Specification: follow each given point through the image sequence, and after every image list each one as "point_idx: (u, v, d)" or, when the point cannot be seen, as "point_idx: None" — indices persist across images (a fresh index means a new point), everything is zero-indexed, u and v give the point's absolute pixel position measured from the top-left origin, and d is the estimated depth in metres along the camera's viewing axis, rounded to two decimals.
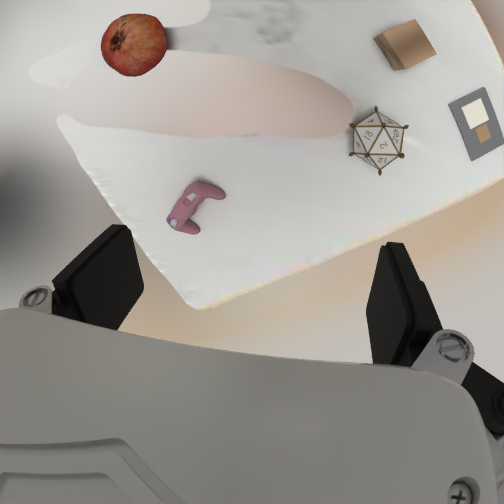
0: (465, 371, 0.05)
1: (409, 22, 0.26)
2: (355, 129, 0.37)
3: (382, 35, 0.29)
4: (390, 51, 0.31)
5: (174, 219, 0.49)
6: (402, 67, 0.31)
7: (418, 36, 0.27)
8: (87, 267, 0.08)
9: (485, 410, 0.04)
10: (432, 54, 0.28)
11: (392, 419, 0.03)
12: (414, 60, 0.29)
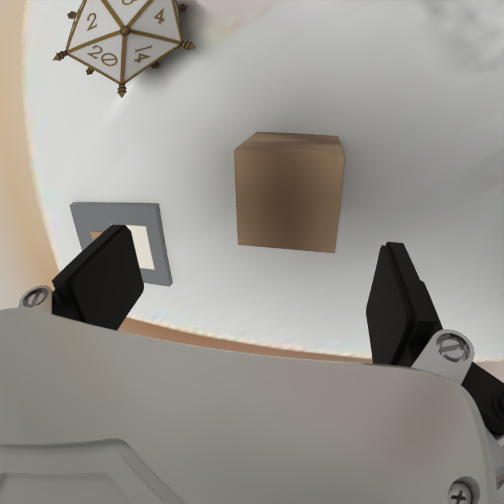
0: (465, 371, 0.05)
1: (333, 235, 0.16)
2: None
3: (337, 152, 0.15)
4: (293, 144, 0.16)
5: None
6: (243, 146, 0.16)
7: (293, 230, 0.17)
8: (87, 267, 0.08)
9: (485, 410, 0.04)
10: (241, 235, 0.17)
11: (392, 419, 0.03)
12: (244, 183, 0.16)
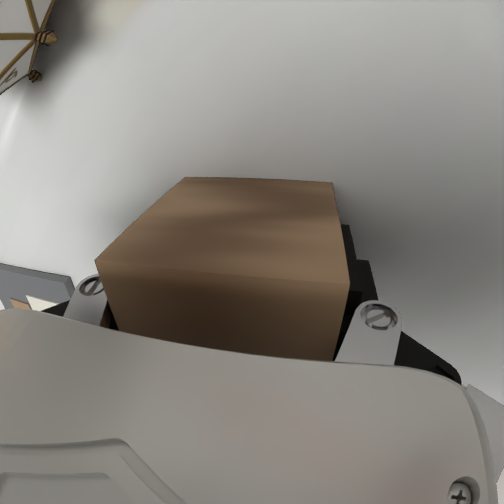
0: (397, 336, 0.06)
1: None
2: None
3: (333, 259, 0.06)
4: (231, 228, 0.08)
5: None
6: (122, 240, 0.07)
7: None
8: None
9: None
10: None
11: (392, 419, 0.03)
12: (129, 321, 0.07)
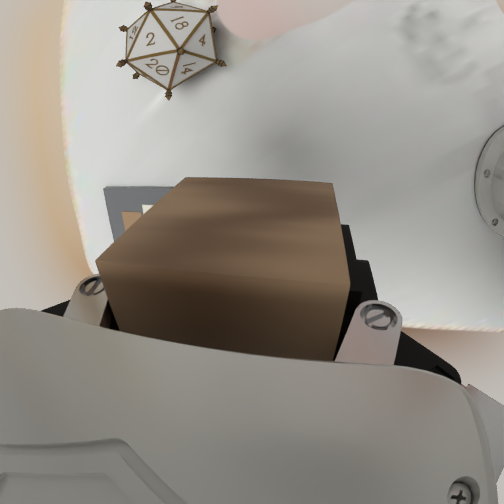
0: (397, 336, 0.06)
1: None
2: (202, 11, 0.17)
3: (333, 260, 0.06)
4: (232, 229, 0.08)
5: None
6: (123, 241, 0.07)
7: None
8: None
9: None
10: None
11: (392, 419, 0.03)
12: (131, 322, 0.07)
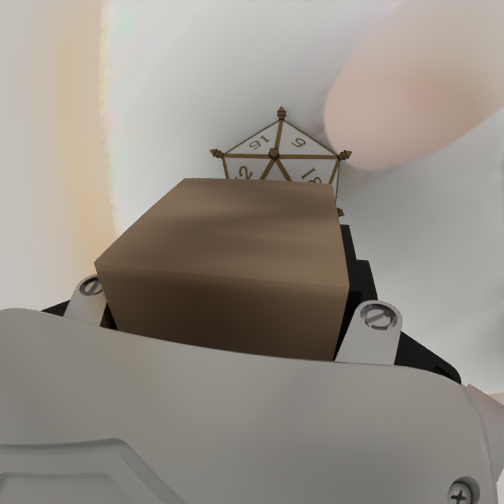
0: (397, 336, 0.06)
1: None
2: (333, 157, 0.17)
3: (332, 262, 0.06)
4: (231, 230, 0.08)
5: None
6: (121, 242, 0.07)
7: None
8: None
9: None
10: None
11: (392, 419, 0.03)
12: (129, 323, 0.07)
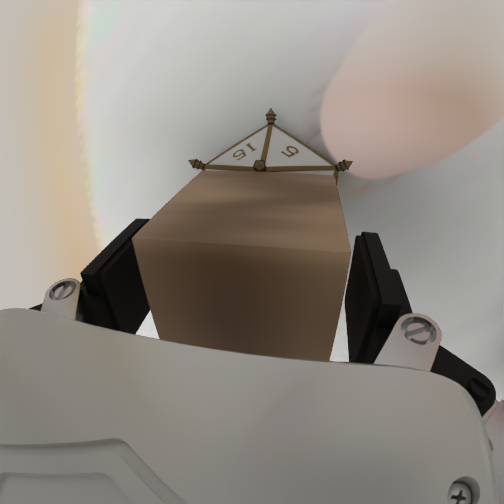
0: (434, 352, 0.06)
1: None
2: (330, 167, 0.15)
3: (336, 235, 0.08)
4: (250, 211, 0.09)
5: None
6: (154, 222, 0.08)
7: None
8: (116, 260, 0.09)
9: None
10: None
11: (392, 419, 0.03)
12: (160, 294, 0.09)
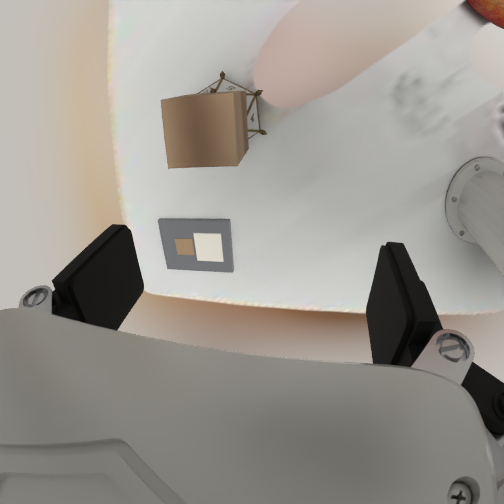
0: (465, 371, 0.05)
1: (234, 152, 0.22)
2: (251, 94, 0.27)
3: None
4: (203, 94, 0.21)
5: None
6: None
7: (204, 151, 0.22)
8: (87, 267, 0.08)
9: (485, 410, 0.04)
10: (169, 160, 0.23)
11: (392, 419, 0.03)
12: (168, 122, 0.21)
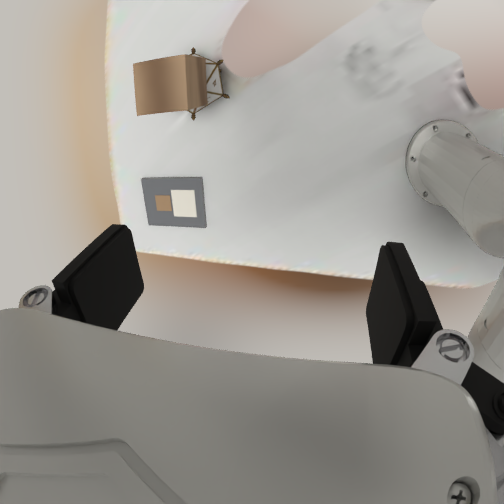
0: (465, 371, 0.05)
1: (185, 99, 0.25)
2: (214, 63, 0.31)
3: (185, 55, 0.24)
4: None
5: None
6: None
7: (163, 100, 0.26)
8: (87, 267, 0.08)
9: (485, 410, 0.04)
10: (138, 109, 0.26)
11: (392, 419, 0.03)
12: (138, 79, 0.25)
